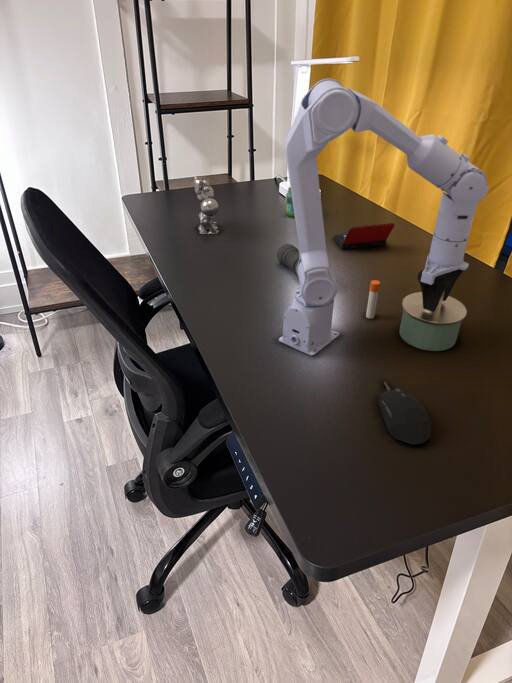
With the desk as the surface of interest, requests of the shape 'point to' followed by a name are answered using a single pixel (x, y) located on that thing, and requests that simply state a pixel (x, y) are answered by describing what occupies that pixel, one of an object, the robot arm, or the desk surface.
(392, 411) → the gaming mouse
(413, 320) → the canister
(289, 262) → the flashlight
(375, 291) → the marker
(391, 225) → the handheld console
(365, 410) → the desk surface
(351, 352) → the desk surface
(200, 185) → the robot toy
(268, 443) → the desk surface
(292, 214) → the green jar
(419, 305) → the canister lid
